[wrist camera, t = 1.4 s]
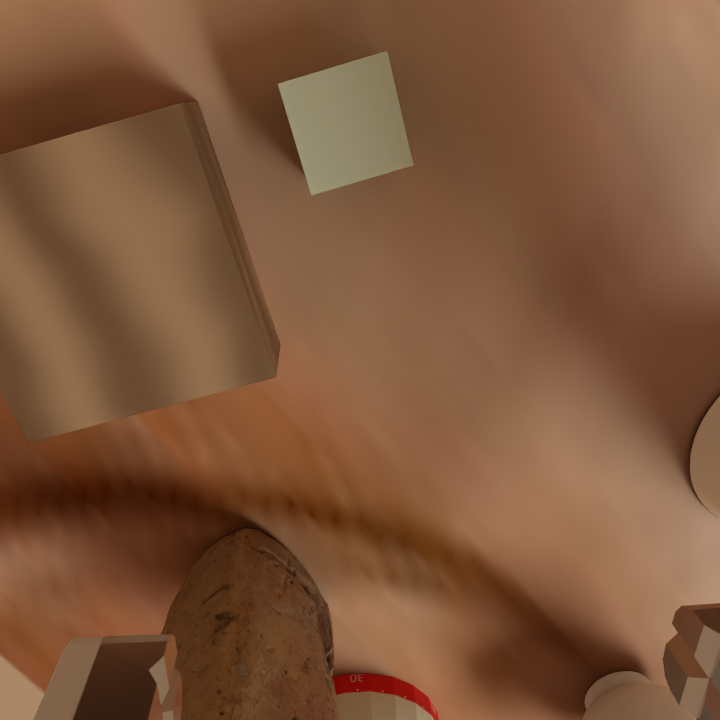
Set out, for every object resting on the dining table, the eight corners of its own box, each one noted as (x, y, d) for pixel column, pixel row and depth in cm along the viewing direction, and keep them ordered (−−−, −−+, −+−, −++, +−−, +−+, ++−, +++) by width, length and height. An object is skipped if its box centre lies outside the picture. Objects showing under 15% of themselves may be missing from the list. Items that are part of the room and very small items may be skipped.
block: (169, 562, 43) (66, 907, 25) (250, 504, 42) (203, 825, 24) (272, 647, 47) (247, 1000, 29) (350, 597, 46) (375, 934, 28)
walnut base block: (198, 100, 32) (179, 103, 28) (280, 342, 38) (275, 377, 33) (-56, 173, 33) (-115, 187, 28) (62, 400, 38) (28, 442, 34)
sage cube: (376, 56, 32) (387, 50, 27) (399, 154, 34) (413, 165, 29) (282, 84, 32) (277, 83, 27) (311, 181, 34) (311, 195, 29)
